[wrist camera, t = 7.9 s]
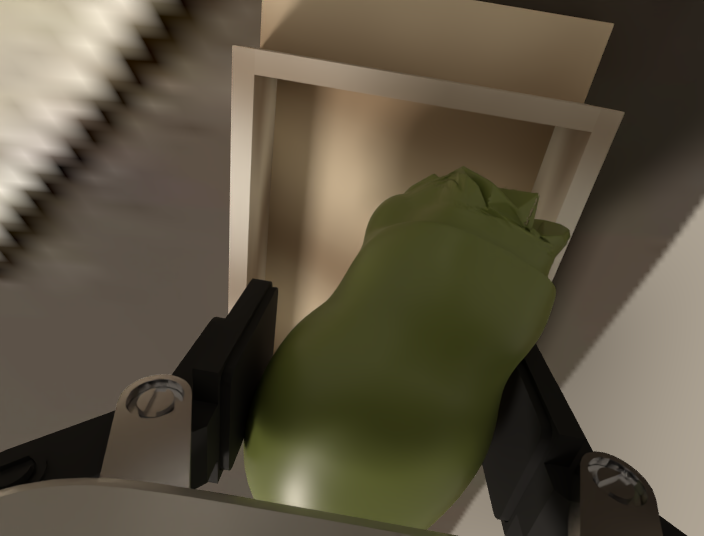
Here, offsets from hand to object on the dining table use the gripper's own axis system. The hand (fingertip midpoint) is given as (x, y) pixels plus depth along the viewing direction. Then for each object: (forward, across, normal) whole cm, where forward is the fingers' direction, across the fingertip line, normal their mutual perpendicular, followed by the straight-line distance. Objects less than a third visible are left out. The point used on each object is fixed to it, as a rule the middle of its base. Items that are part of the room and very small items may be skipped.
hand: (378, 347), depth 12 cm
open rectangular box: (+6, 0, 0) cm, 6 cm away
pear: (+1, 0, -1) cm, 1 cm away
